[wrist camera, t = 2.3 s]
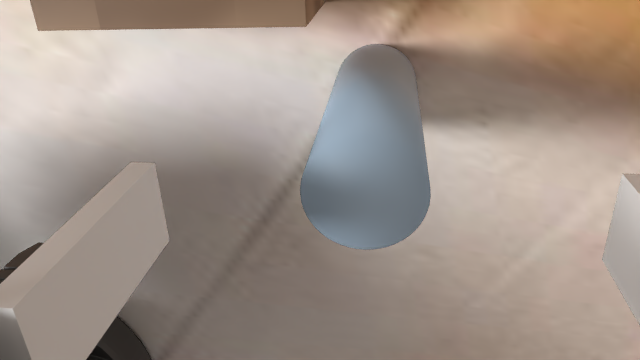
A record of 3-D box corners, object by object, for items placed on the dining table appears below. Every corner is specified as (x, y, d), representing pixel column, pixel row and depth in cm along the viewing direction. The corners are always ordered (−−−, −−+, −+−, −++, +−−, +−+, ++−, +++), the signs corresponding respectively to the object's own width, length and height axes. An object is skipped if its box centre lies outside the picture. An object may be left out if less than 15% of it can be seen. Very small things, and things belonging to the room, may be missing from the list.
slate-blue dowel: (414, 121, 28) (426, 251, 17) (337, 121, 28) (303, 247, 18) (417, 43, 26) (434, 135, 15) (335, 44, 27) (296, 133, 16)
